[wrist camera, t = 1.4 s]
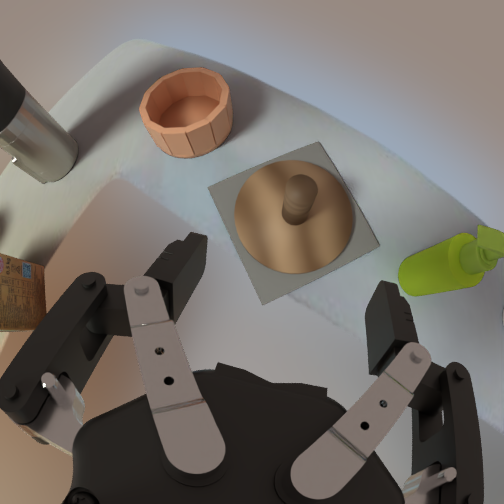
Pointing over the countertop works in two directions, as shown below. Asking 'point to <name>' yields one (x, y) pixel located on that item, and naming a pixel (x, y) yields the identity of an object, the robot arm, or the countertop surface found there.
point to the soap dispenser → (452, 263)
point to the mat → (276, 282)
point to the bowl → (188, 112)
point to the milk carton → (21, 294)
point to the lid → (293, 217)
